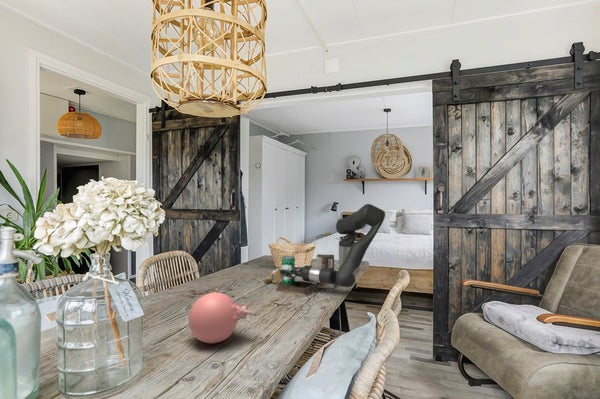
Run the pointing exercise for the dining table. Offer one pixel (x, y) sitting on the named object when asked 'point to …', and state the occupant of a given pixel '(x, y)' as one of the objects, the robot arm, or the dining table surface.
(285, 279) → the can
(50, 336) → the dining table surface
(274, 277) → the ceramic sculpture
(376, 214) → the robot arm
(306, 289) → the brown open tray
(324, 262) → the coffee box
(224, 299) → the balloon
